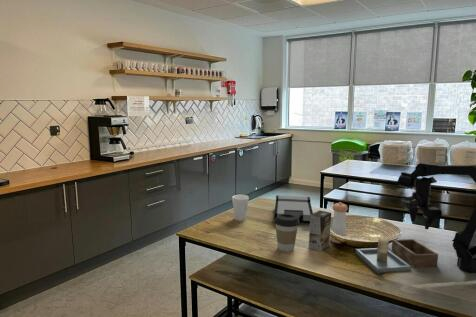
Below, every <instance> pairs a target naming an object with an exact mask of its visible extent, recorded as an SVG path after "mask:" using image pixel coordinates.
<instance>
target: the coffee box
mask: <svg viewBox="0 0 476 317" xmlns="http://www.w3.org/2000/svg"><path fill="white" fill-rule="evenodd" d="M331 224H332V212H328V211H324V210H317V211H315V212H313V214H310V224H309V235H308V248H309V249H312V250H315V251H319V252H321V251H323V250H324V249H326V248H328V247H330V241H331V228H332V225H331Z"/></svg>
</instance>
